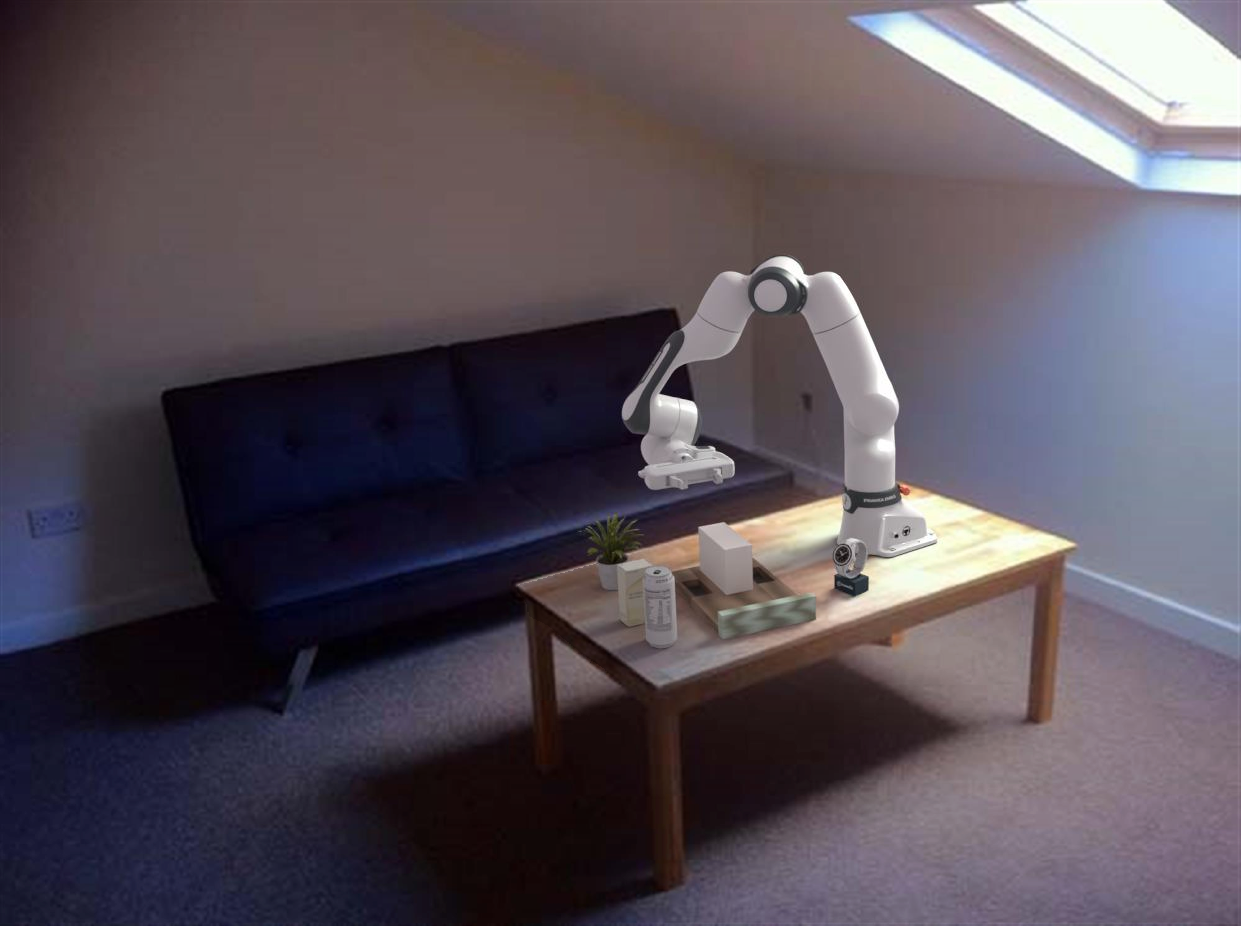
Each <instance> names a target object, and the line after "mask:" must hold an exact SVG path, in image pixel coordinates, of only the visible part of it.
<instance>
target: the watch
mask: <svg viewBox="0 0 1241 926" xmlns="http://www.w3.org/2000/svg"><path fill="white" fill-rule="evenodd" d="M856 543H858V546H859V551H858V552H857V553H855V548H856V545H855V544H856ZM831 555H832V556H831V557H832V561H833V566H834V568H835V570H836V573H835V574H834V575H833V576H834V577H833V578H834V579H833V583H834V584H833V589H834V590H837V591H839V592H842V593H844V594H847V595H850V596H852V597H855V598H856V597H858V596H859V595H861V594H864V593H866V592H867V591H870V590H869V587H870V586H869V585H870V583H869V580H870V576H868V575H865V574H863V573H861V572H863V571H864V569H865V567H866V563H867V559H868V555H869V554H867V546H866V544H865V543H864V542H863V541H860V540H857V539H854V538H849V539H847V540H845V541H843V542H842V543H841V544H839V545H838V544H837V545H836V546H835V547H834V549H833V551H832V554H831ZM851 565H852V569H850V568H849V567H850V566H851Z"/></svg>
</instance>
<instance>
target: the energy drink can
mask: <svg viewBox="0 0 1241 926" xmlns="http://www.w3.org/2000/svg"><path fill="white" fill-rule="evenodd" d="M671 571H672V570H671V568H670V567H669V566H666V565H653V566H652V567H649V568H647V569H646V571H645V575H644V577H643V596H644V613H645V623H644V626H645V629H644V630H645V640H646V641H647V642H648V644H649V646H650V647H653V648H656V649H667V648H670V647H672V646H673V645H674V644H675V642H676V641H677V639H678V627H677V625H678V624H677V605H676V604H677V603H676V590H675V579H674V576H673V575H672V573H671Z"/></svg>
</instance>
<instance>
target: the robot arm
mask: <svg viewBox="0 0 1241 926" xmlns="http://www.w3.org/2000/svg"><path fill="white" fill-rule="evenodd" d="M754 311H756V312H757V313H758V314H760V315H762V316H765V317H770V318H771V317H773V318H776V317H782V316H783V317H784V316H791V315H794V316H795V315H798V314H800V313H801V314H802V316H804V318H805V320H806V322H807V324H808V327H809V330H810V331H811V333H812V335H813V338H814V340H815V342H816V345H817V347H818V349H819V350H818V351H819V352H820V355H821V356H822V359H823V360H824V363H825V365H826V368H827V370H828V374H829V375H830V378H831V380H832V383H833V385H834V387H835V391H836V392H837V396H838V398H839V399H840V402H841V404H842V407H843V438H844V439H843V441H844V443H843V445H844V481H843V483H842V495H841V497H842V500H841V501H842V502H841V503H842V509H843V511H842V518H841V524H840V529H839V533H838V535H837V536H838V537H837V539H836V543H837V545H839V544H841V543H842V542H843V541H845V540H847V539H849V538H854V539H857V540H860V541H863V542H864V543H865V544H866V546H867V554H868V555H873V556H879V557H884V558H894V557H896V556H898V555H901V554H905V553H908V552H911V551H914V550H917V549H922V548H923V547H926V546H929V545H933V544H935V543H937V542H938V536H937V534H936V532H935V531H933V530H932V529H931V528H929V527H928V526H927V520H926V516H925V514H924V513H923V512H922V511H921V510H920V509H919V508H917V507H916V506H915V505H914V504H912V503H911V502H909V501H908V500H906V499H904V498H903V497H902V494H903V495H904V496H907V497H908V496H909V495H910V494H911V493H912V492H911V491H912V489H911V488H910V486H907V485H905V484H902V485H901V484H900V483H898V482H897V481H896V441H895V423H896V422H897V420H898V416H899V413H900V412H899V411H900V403H899V399H898V397H897V394H896V392H895V390H894V387H893V384H892V382H891V380H890V379H889V376H888V373H887V371H886V370H885V367H884V365H883V362H882V360H881V358H880V355H879V352H878V351H877V350H878V349H877V348H876V346H875V343H874V341H873V338H872V336H871V333H870V331H869V328H868V327H867V325H866V323H865V320H864V318H863V315H862V313H861V311H860V309H859V306H858V305H857V301H856V300H855V298H854V296H853V295H852V292H851V291H850V290H849V287H848V286H847V284H846V283H845V282H844V280H843V279H842V277H841V276H840V275H839V274H837V273H835V272H833V271H822V272H817V273H815V274H813V275H807V274H806V270H805V268H804V266H803V265H802V262H800V261H799V260H798V259H797V258H796V257H794V256H792V255H789V254H785V253H782V254H781V253H779V254H776V255H773V256H770V257H768V258H767V259H765V260H764V261H762V262H761V263H760V264H758V265H757V266H755V267H754V268H753V269H751V270H750V271H749V275H748V274H747V275H745V274H742V273H740V272H737V271H724V272H721V273H720V274H718V275H717V276H716V277H715V278H714V280H713V281H712V282H711V285H710V286H709V287H708V289H707V291H706V292H705V294H704V296H703V298H702V300H701V302H700V304H699V305H698V308H697V310H696V313H695V314H694V316H693V317H692V318H691V320H690V321H689V322H688V323H687V324H686V325H685V326H684V327H682V328H681V329H679V330H676V331H674V332H672V333H671V334H670V335H669V336H668V337H667V339H666V340H665V342H664V343H663V345H662V347H660V349H659V351H658V352H657V354H656V356H655V357H654V359H653V360H652V362H651V363H650V365H649V366H648V368H647V370H646V371H645V373H644V374H643V376H642V377H641V379H640V381H638V384H637V385H636V387H634V389H633V390H631V392H630V393H629V394H628V396H627V397H626V398H625V400H624V401H623V405H622V409H621V415H620V416H621V419H622V422H623V424H624V426H625V427H626V428H627V430H629V432H631V433H632V434H637V435H644V437H643V438H642V440H641V442H640V443H641V444H640V451H641V455H642V457H643V459H644V461H645V462H646V463H647V465H646V466H644V468H642V470H639V471H638V473H637V475H638V476H639V477H640V478H642V479H644V483H645V485H646V486H647V487H648V489H650V490H653V491H657V490H663V489H670V488H678V489H680V490H687V489H689V485H692V484H693V485H694V484H699V483H706V482H711V481H713V483H714V484H716V485H718V484H723V483H724V482H723V481H724V480H725V479H731V478H733V477H734V475H735V470H736V469H735V468H736V467H735V461H734V460H733V459H732V458H730V457H729V456H727V455H726V454H724V453H722V452H720V451H717V450H716V448H715V447H714V446H712V445H703V446H702V445H700V446H699V445H695V444H696V442H698V439H699V437H700V434H701V431H702V426H703V418H702V414H701V411H700V409H699V407H698V405H697V404H696V403H695V401H693V400H688V399H684V398H683V399H682V398H680V397H676V396H675V397H673V396H670V395H665V394H661V391H662V390H663V388H664V387H665V385H666V384H667V381H668V380H669V379H670V377H671V376H672V374H673V373H674V371H675V370H676V369H678V368H679V367H681V366H683V365H684V364H685V365H686V364H689V363H692V362H699V361H708V360H709V361H711V360H716V359H719V358H721V357H724V356H726V355H728V354H729V353H730V352H732V350H734V348H735V346H736V345H737V344H738V342H739V340H740V338H741V335H742V333H743V331H744V329H745V326H746V325H747V322H748V319H749V318H750V316H751V315H752V314H753V312H754ZM855 545H856V548H855V554H857V552H858V551H859V546H858V543H856V544H855Z"/></svg>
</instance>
